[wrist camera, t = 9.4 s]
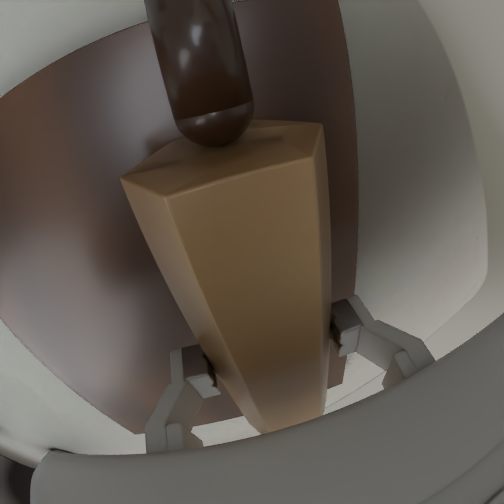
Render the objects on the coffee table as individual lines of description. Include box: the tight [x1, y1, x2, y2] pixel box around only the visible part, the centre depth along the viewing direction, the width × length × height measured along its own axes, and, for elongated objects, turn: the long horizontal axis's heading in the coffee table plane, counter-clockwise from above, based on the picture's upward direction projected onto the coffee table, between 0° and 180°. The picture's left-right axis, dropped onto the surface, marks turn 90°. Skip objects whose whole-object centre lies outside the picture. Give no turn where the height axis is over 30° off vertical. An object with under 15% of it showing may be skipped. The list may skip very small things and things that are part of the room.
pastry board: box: [0, 0, 359, 434], centre depth 13 cm, size 18×24×1 cm
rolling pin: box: [120, 0, 331, 434], centre depth 11 cm, size 5×27×4 cm, turn 11°
